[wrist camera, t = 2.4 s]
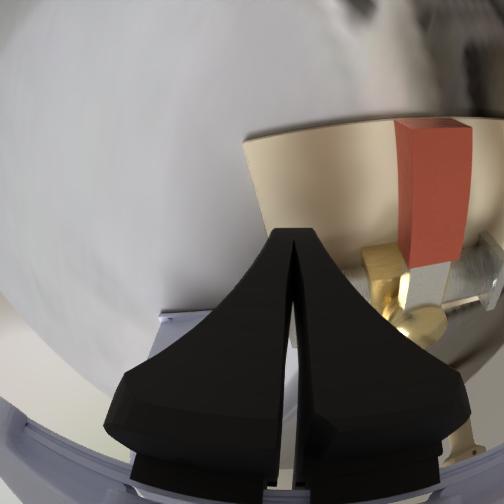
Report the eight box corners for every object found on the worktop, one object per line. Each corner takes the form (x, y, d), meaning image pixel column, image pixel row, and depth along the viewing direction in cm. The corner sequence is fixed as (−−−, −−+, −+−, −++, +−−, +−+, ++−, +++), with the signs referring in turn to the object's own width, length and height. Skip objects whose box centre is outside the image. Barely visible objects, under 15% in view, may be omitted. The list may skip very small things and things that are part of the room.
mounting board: (293, 328, 27) (292, 333, 26) (243, 141, 17) (241, 143, 16) (489, 291, 22) (491, 295, 21) (521, 120, 12) (525, 122, 11)
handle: (434, 365, 30) (455, 465, 18) (468, 359, 29) (492, 450, 17) (421, 382, 33) (436, 474, 21) (453, 376, 32) (472, 461, 20)
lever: (431, 323, 18) (439, 346, 16) (379, 334, 19) (385, 358, 17) (457, 116, 10) (482, 127, 8) (380, 119, 11) (397, 130, 9)
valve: (293, 310, 25) (293, 351, 21) (280, 256, 21) (279, 298, 18) (473, 278, 21) (492, 311, 17) (486, 225, 17) (513, 256, 14)
